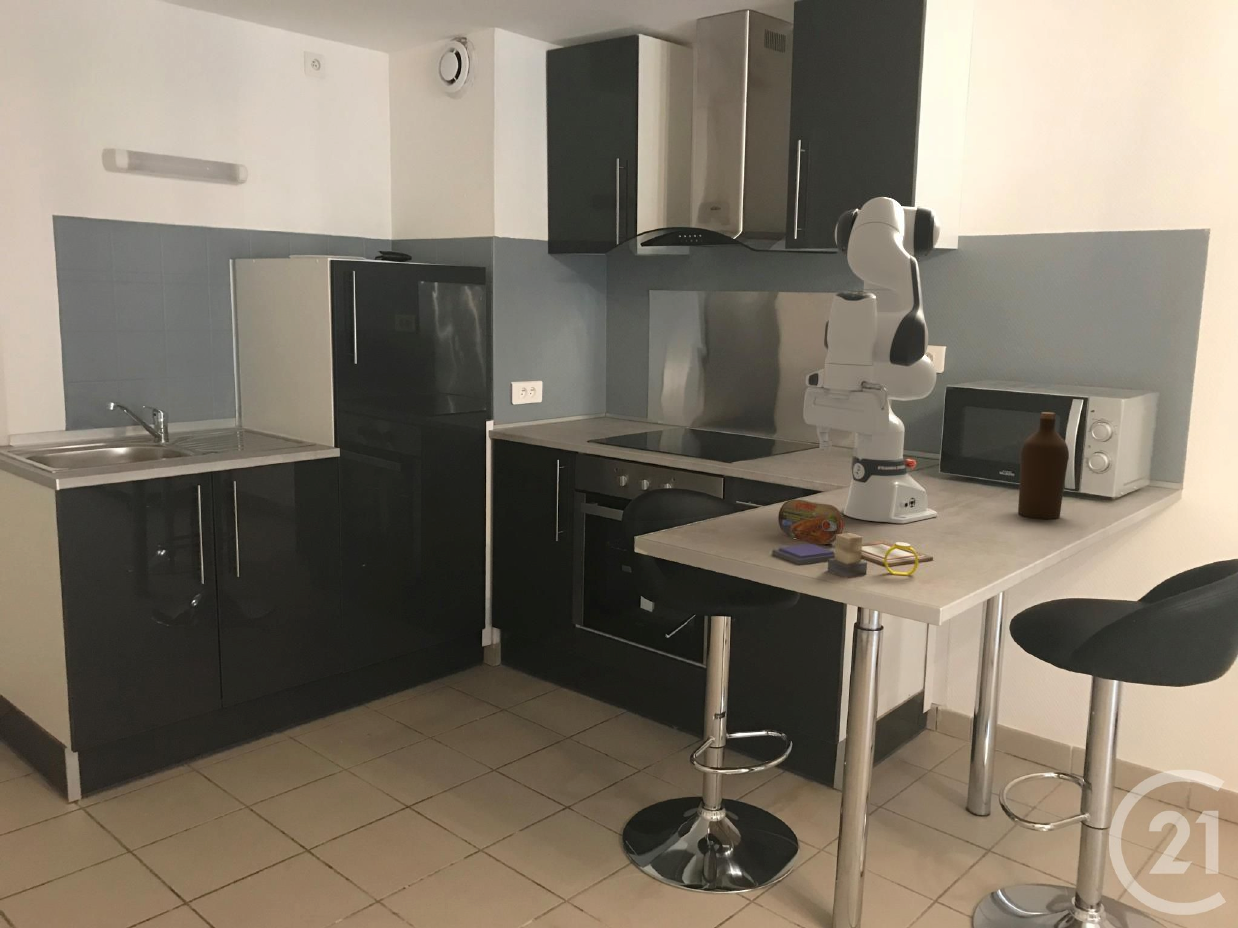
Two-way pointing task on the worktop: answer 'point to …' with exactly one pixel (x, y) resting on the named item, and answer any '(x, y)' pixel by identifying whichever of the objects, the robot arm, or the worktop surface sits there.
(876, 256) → the robot arm
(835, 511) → the tin
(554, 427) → the worktop surface
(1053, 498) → the olive oil
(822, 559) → the ink pad
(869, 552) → the board
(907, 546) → the watch
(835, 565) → the stamp
